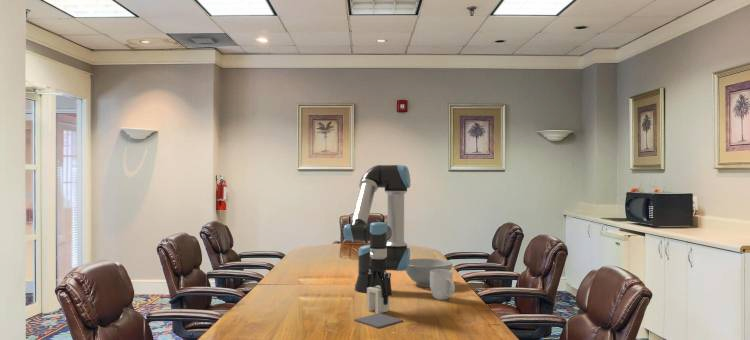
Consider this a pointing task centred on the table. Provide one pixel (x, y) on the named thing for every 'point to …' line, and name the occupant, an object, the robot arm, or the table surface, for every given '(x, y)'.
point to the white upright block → (375, 299)
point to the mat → (378, 320)
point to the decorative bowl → (425, 269)
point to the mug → (441, 284)
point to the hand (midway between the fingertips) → (377, 310)
